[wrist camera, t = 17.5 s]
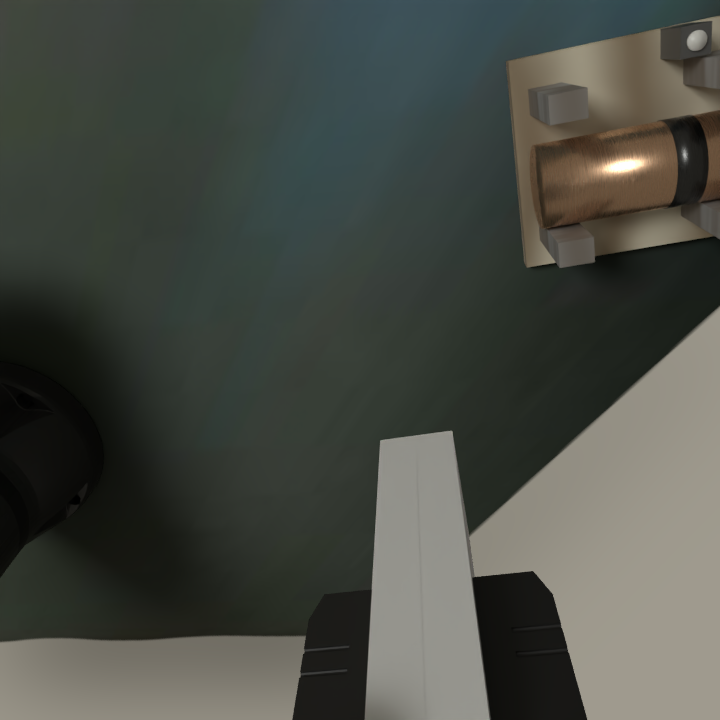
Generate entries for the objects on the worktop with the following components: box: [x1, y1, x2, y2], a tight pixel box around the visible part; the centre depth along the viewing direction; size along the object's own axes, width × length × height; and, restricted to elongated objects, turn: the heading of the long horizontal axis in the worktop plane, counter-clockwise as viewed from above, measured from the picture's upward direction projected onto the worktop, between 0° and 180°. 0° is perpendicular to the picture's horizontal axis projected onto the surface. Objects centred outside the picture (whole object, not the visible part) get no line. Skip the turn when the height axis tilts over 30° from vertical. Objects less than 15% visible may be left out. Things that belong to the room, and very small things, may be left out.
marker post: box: [660, 21, 712, 60], centre depth 36 cm, size 2×2×3 cm
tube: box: [530, 110, 720, 229], centre depth 38 cm, size 16×5×5 cm, turn 101°
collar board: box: [506, 16, 720, 268], centre depth 38 cm, size 13×13×7 cm
